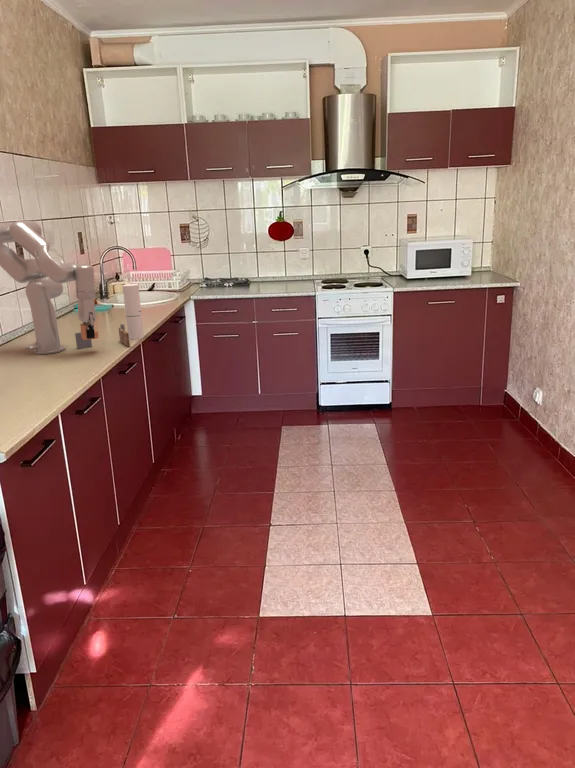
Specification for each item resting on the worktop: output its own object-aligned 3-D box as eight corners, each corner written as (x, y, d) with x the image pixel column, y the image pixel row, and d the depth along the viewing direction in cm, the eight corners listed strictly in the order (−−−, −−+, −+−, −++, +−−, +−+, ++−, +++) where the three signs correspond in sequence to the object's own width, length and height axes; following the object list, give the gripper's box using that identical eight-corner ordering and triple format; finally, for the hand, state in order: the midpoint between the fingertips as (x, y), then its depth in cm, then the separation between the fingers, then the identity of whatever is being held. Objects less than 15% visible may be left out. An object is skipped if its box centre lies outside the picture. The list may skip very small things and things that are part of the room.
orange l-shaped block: (84, 339, 250) (83, 326, 248) (81, 337, 253) (80, 324, 251) (98, 338, 253) (97, 324, 251) (95, 336, 256) (94, 322, 255)
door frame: (78, 349, 261) (75, 331, 259) (76, 348, 262) (74, 330, 260) (126, 341, 273) (124, 324, 270) (124, 340, 274) (122, 323, 272)
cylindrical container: (146, 336, 282) (141, 283, 275) (139, 339, 276) (133, 286, 268) (133, 335, 284) (127, 283, 277) (125, 339, 278) (119, 285, 270)
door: (119, 341, 272) (118, 327, 271) (122, 340, 273) (120, 327, 271) (127, 346, 261) (126, 332, 259) (129, 346, 261) (128, 332, 259)
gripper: (71, 292, 252) (74, 333, 257) (82, 298, 238) (85, 342, 244) (89, 291, 256) (91, 332, 261) (101, 297, 242) (103, 340, 248)
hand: (88, 336), depth 253 cm, fingers closed on orange l-shaped block, 4 cm apart
